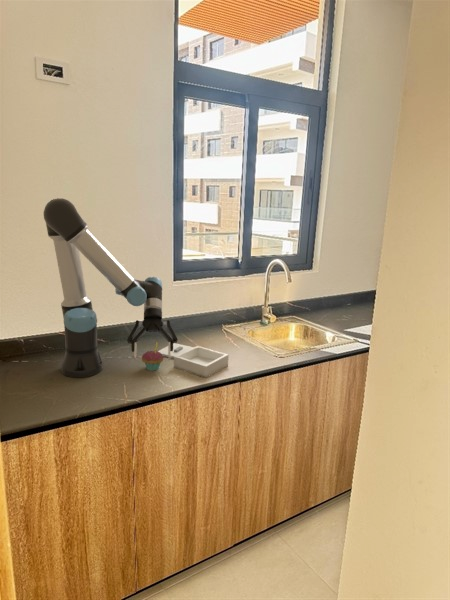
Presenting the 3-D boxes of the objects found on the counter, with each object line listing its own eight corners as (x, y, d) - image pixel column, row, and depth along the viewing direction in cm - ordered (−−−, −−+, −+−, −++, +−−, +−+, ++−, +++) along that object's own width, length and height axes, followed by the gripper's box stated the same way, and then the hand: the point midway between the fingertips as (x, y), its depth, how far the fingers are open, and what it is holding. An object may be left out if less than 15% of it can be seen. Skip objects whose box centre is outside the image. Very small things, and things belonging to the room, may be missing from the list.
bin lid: (183, 360, 174) (184, 356, 174) (156, 354, 180) (156, 350, 179) (199, 350, 187) (199, 346, 186) (173, 344, 192) (173, 340, 192)
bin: (205, 378, 159) (206, 366, 158) (173, 367, 167) (173, 356, 166) (228, 365, 172) (228, 354, 171) (197, 356, 180) (197, 345, 179)
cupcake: (166, 366, 168) (167, 338, 165) (157, 374, 160) (158, 345, 157) (147, 362, 170) (147, 335, 168) (137, 370, 162) (137, 341, 160)
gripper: (182, 315, 178) (183, 361, 167) (123, 315, 174) (120, 362, 163) (183, 306, 172) (184, 354, 161) (122, 306, 168) (119, 355, 157)
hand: (152, 358), depth 162 cm, fingers open, 12 cm apart
